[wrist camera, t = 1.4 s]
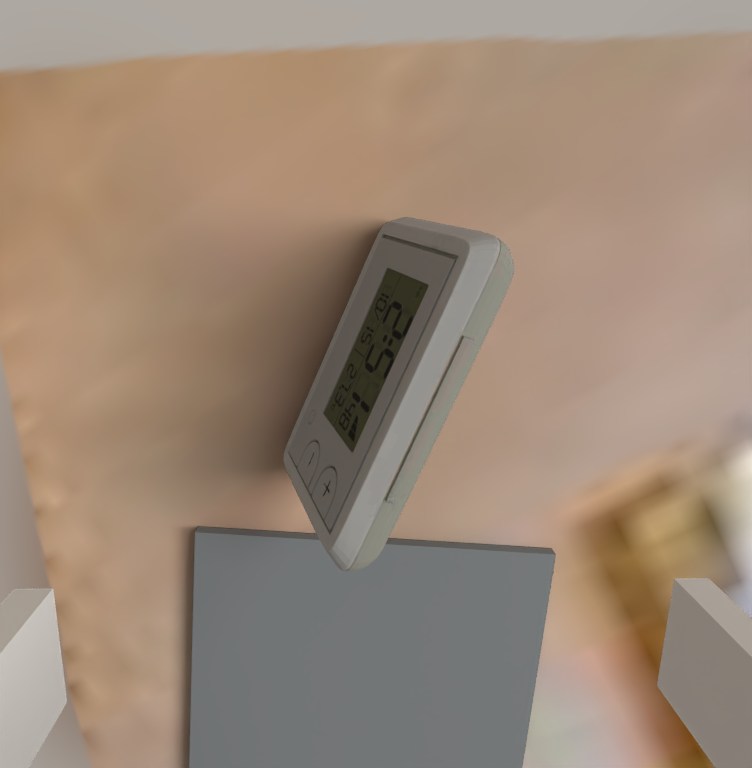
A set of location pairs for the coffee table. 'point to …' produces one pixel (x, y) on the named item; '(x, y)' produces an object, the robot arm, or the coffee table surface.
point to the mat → (363, 653)
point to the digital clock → (392, 379)
